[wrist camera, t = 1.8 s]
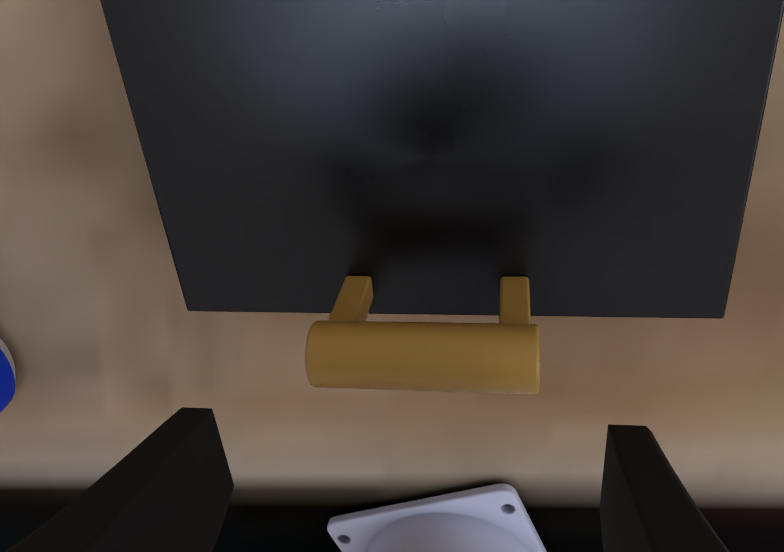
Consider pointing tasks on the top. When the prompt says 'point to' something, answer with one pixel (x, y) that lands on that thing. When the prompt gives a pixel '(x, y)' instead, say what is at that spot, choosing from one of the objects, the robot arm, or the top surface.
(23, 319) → the top surface
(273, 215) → the lid
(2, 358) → the beverage can
